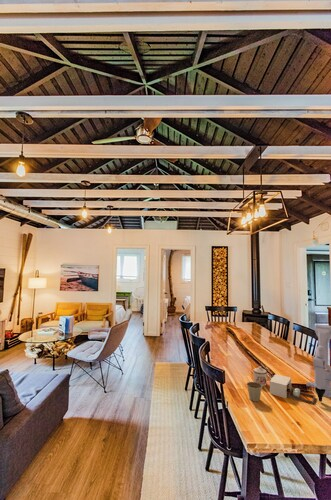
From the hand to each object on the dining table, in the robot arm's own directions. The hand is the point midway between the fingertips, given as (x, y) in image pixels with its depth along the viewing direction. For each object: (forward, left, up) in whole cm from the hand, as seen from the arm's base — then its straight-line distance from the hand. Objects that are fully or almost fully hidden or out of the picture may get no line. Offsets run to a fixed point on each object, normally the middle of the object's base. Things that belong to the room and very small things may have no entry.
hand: (320, 401), depth 160 cm
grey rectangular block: (0, -23, -1) cm, 23 cm away
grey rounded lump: (+2, -13, -1) cm, 13 cm away
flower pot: (+21, -33, -1) cm, 39 cm away
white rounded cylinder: (-2, -13, -1) cm, 14 cm away
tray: (0, -10, -2) cm, 11 cm away
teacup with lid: (-5, -36, -1) cm, 37 cm away
